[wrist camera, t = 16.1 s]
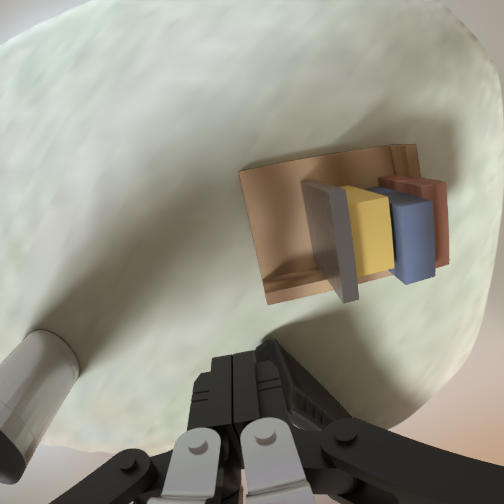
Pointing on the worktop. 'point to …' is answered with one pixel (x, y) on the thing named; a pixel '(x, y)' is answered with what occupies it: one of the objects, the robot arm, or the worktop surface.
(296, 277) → the shelf
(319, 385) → the magazine
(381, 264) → the book
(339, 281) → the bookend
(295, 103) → the worktop surface
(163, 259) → the worktop surface
